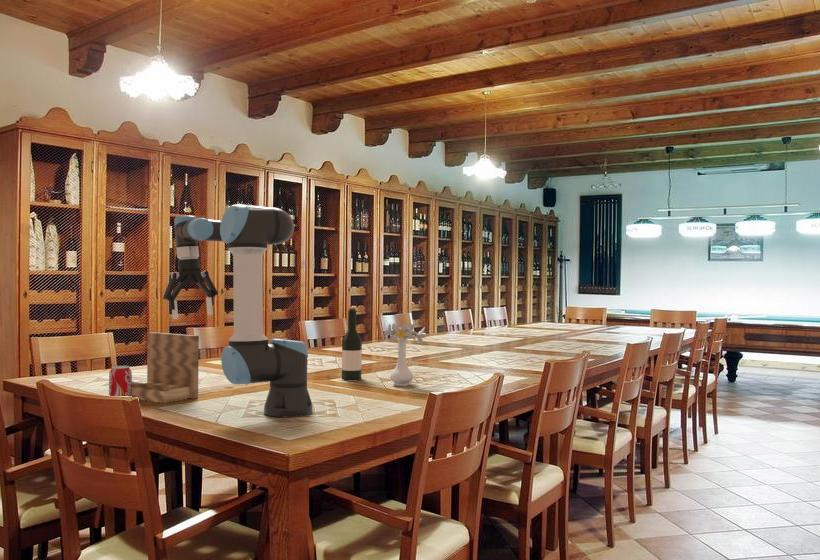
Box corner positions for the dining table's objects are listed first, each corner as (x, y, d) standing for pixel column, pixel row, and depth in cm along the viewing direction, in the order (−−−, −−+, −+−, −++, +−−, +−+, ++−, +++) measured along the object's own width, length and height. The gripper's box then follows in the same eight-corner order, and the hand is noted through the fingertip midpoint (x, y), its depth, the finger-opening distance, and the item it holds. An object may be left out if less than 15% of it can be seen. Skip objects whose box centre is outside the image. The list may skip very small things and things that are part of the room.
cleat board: (198, 398, 224) (198, 335, 224) (169, 404, 213) (169, 338, 213) (151, 391, 236) (152, 332, 235) (122, 397, 225) (122, 334, 225)
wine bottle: (365, 378, 271) (366, 308, 271) (353, 381, 264) (354, 309, 264) (349, 377, 275) (350, 307, 275) (337, 379, 268) (338, 308, 268)
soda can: (122, 404, 211) (123, 368, 211) (104, 403, 213) (104, 367, 213) (136, 400, 218) (136, 365, 218) (117, 399, 220) (118, 365, 220)
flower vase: (430, 385, 257) (431, 323, 257) (392, 389, 246) (393, 324, 246) (411, 380, 267) (412, 321, 267) (374, 384, 257) (375, 322, 257)
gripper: (213, 258, 244) (218, 313, 244) (150, 260, 225) (155, 320, 226) (224, 256, 239) (229, 313, 239) (160, 259, 220) (165, 320, 221)
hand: (193, 316), depth 232 cm, fingers open, 13 cm apart
